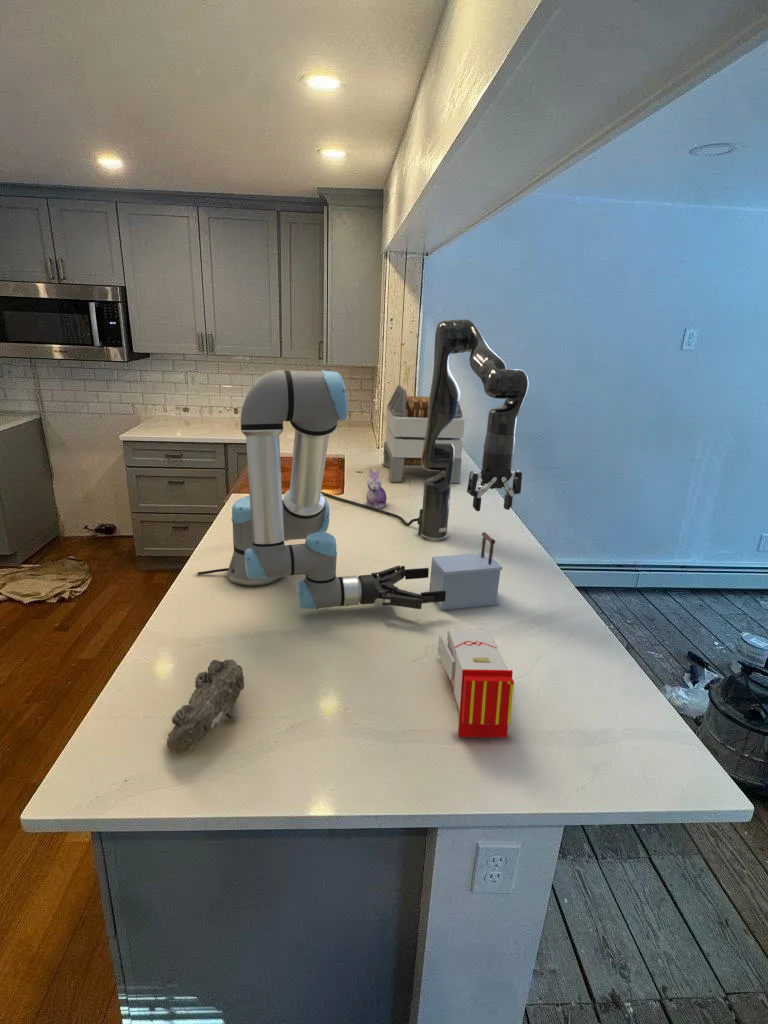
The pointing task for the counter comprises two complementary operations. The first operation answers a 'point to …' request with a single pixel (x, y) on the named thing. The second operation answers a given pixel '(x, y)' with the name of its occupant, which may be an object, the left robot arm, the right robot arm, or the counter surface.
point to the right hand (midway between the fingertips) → (491, 509)
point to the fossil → (206, 705)
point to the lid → (469, 561)
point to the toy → (478, 682)
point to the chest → (465, 588)
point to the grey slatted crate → (415, 434)
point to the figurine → (375, 491)
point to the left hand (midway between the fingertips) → (436, 583)
